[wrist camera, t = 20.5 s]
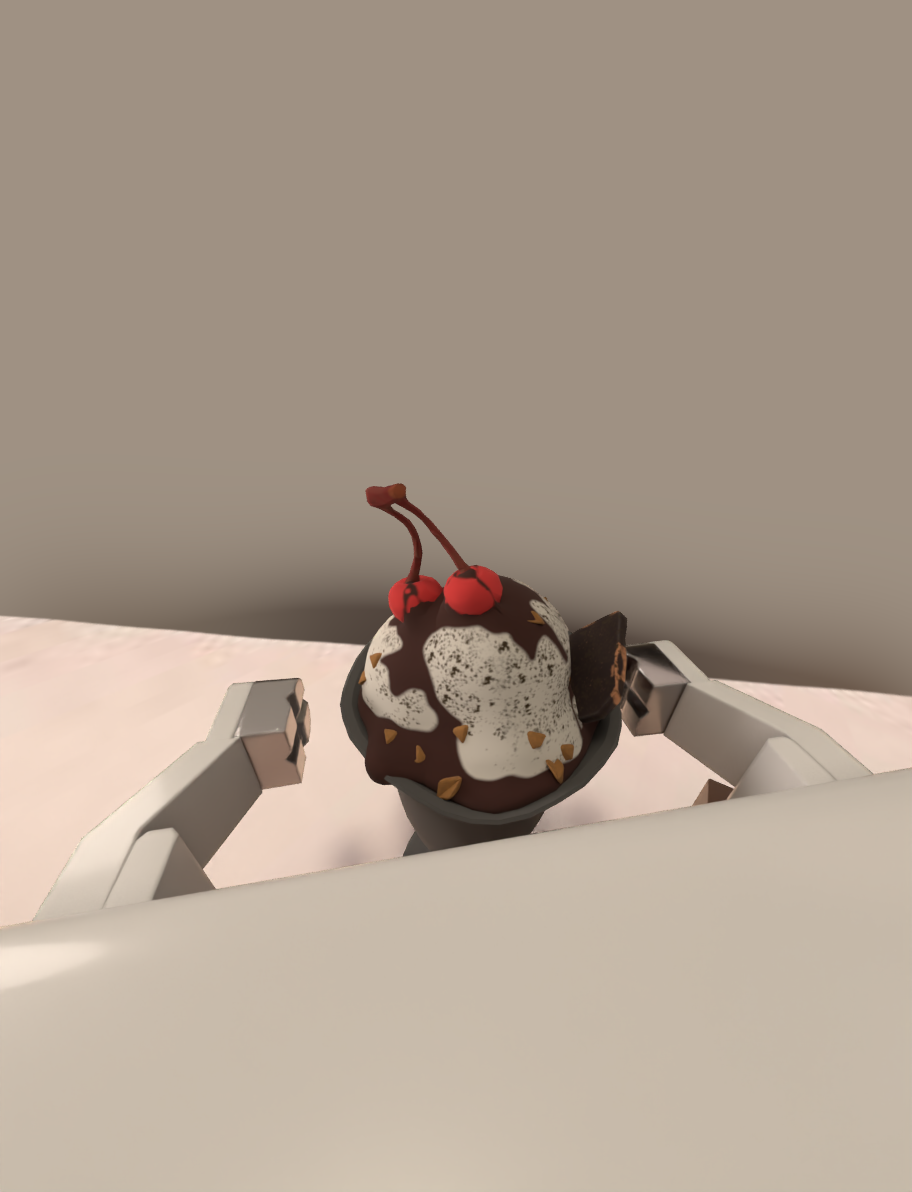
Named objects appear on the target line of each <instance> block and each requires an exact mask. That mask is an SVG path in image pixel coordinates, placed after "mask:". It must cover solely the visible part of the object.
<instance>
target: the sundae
mask: <svg viewBox="0 0 912 1192" xmlns="http://www.w3.org/2000/svg"><path fill="white" fill-rule="evenodd" d="M366 496H367V502H368V503H369V504H370V506H373V507H376V508H379V509H381V510H383V511H385V512H387V513H388V514H390V515H392V516H394V517H395V518H397V519H398V520H399V521H401V522H402V523H403V524H404V525H405V526H406V527H407V528H408V530H409V532H410V534H411V536H412V541H413V545H414V559H413V563H412V566H411V570H410V573H409V575H408V577H406V578H403V579H401V580H400V581H398V582H396V583H395V584H394V586H393V587H392V588H391V590H390V592H389V607H390V609H391V611H392V612H393V614H394V615H392V616H391V617H390V618H389V619H388V620H387V621H386V622H385V623H384V625H383V626H382V627H381V628H380V629H379V630H378V632H377V633H376V635H375V636H374V637H373V638H372V639H371V640H370V641H369V642H368V643H367V645H366V646H365V647H364V649H363V650H362V651H361V653H360V654H359V655H358V657H357V658H356V660H355V662H354V664H353V666H352V668H351V670H350V672H349V674H348V677H347V679H346V682H345V685H344V688H343V691H342V697H341V703H340V707H341V713H342V719H343V722H344V725H345V727H346V730H347V733H348V736H349V738H350V740H351V741H352V742H353V743H354V745H355V746H356V747H357V749H358V750H359V751H360V753H361V754H362V755H363V756H364V758H365V767H366V771H367V773H368V775H369V777H370V778H371V779H372V780H373V781H374V782H376V783H379V784H382V785H393V786H395V787H396V788H397V789H398V792H399V795H400V798H401V801H402V804H403V807H404V809H405V812H406V815H407V817H408V819H409V821H410V822H411V824H412V826H413V828H414V830H415V832H414V834H413V836H412V837H411V839H410V841H409V843H408V845H407V847H406V850H405V852H404V854H403V857H404V856H410V855H415V854H421V853H427V852H433V851H438V850H444V849H450V848H455V847H461V846H467V845H473V844H478V843H484V842H490V841H495V840H501V839H507V838H512V837H518V836H524V835H529V834H530V833H531V832H532V831H533V829H534V828H535V826H536V825H537V823H538V822H539V821H540V819H541V817H542V815H543V813H544V811H545V810H546V809H548V808H550V807H552V806H554V805H556V804H558V803H559V802H561V801H563V800H564V799H566V798H567V797H569V796H570V795H572V794H573V793H575V792H577V791H578V790H580V789H581V788H583V787H584V786H585V785H586V784H587V783H588V782H589V781H590V780H591V779H592V778H593V777H594V776H595V775H596V774H597V772H598V771H599V770H600V769H601V768H602V767H603V766H604V765H605V763H606V762H607V760H608V759H609V757H610V756H611V754H612V753H613V751H614V750H615V749H616V747H617V745H618V741H619V736H620V732H621V727H622V712H621V709H620V706H619V703H620V700H621V697H622V694H623V688H624V683H625V674H626V644H625V636H626V628H627V618H626V617H625V616H624V615H623V614H622V613H621V612H619V611H616V612H614V613H612V614H609V615H607V616H605V617H603V618H601V619H599V620H597V621H595V622H593V623H591V624H589V625H587V626H585V627H583V628H581V629H579V630H577V631H576V632H574V633H571V632H569V631H568V628H567V627H566V625H565V623H564V621H563V619H562V618H561V616H560V614H559V613H558V611H557V609H556V608H554V606H552V605H551V604H550V603H549V602H548V600H547V598H546V597H544V598H543V597H542V596H541V595H539V594H538V593H537V592H536V591H535V590H534V589H532V588H531V587H530V586H528V585H526V584H525V583H523V582H520V581H517V580H515V579H511V578H508V577H503V576H499V575H497V574H496V573H495V572H493V571H492V570H490V569H488V568H486V567H482V566H478V565H474V566H468V565H467V564H466V563H465V562H464V561H463V560H462V558H461V557H460V556H459V554H458V553H457V552H456V550H455V549H454V548H453V546H452V545H451V544H450V543H449V541H448V540H447V539H446V538H445V537H444V535H443V534H442V533H441V532H440V531H439V530H438V529H437V527H436V526H435V525H434V524H433V523H432V521H431V520H429V518H427V517H426V516H425V515H424V514H423V513H422V512H421V510H419V509H418V508H417V507H415V506H414V505H412V504H411V503H410V502H408V500H407V498H406V487H405V486H404V485H403V484H394V485H391V486H387V487H377V486H373V487H369V488H367V489H366ZM394 503H396V504H398V505H400V506H401V507H403V508H405V509H407V510H409V511H411V512H412V513H413V514H415V515H416V516H417V517H418V518H420V519H421V520H422V521H423V522H424V524H425V525H426V526H427V527H428V528H429V530H430V531H431V533H432V534H433V535H434V536H435V537H436V538H437V539H438V540H439V541H440V542H441V544H442V546H443V547H444V549H445V550H446V551H447V553H448V554H449V555H450V557H451V558H452V560H453V561H454V563H455V565H456V566H457V568H458V570H457V571H456V572H455V573H453V574H452V575H451V576H450V577H449V578H448V580H447V583H446V585H445V587H443V588H442V587H441V586H440V584H439V583H438V582H437V581H436V580H435V579H433V578H432V577H427V576H423V575H419V571H420V566H421V559H422V547H421V543H420V539H419V536H418V533H417V531H416V529H415V527H414V526H413V524H412V523H411V521H410V520H409V519H407V518H406V517H405V516H403V515H402V514H400V513H399V512H397V511H395V510H394V509H393V508H392V507H391V504H394Z"/></svg>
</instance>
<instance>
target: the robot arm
mask: <svg viewBox="0 0 912 1192" xmlns="http://www.w3.org/2000/svg"><path fill="white" fill-rule="evenodd" d="M303 694H304V686H303V683H302V679H300V678H292V679H279V680H266V681H256V682H246V683H233V684H232V685H231V686H230V687H229V688H228V689H227V691H226V694H225V696H224V698H223V701H222V703H221V705H220V708H219V710H218V712H217V714H216V717H215V719H214V721H213V724H212V726H211V728H210V731H209V733H208V735H207V738H206V740H205V741H203V742H197V743H196V744H195V745H194V746H192V747H191V748H190V749H189V750H188V751H186V752H185V753H184V754H183V755H182V756H180V757H179V758H178V759H177V760H176V761H174V762H173V763H172V764H171V765H170V766H168V767H167V768H166V769H165V770H164V771H162V772H161V773H160V774H159V775H158V776H156V777H155V778H154V779H153V780H152V781H150V782H149V783H148V784H147V785H145V786H144V787H143V788H142V789H141V790H139V791H138V792H137V793H136V794H135V795H133V796H132V797H131V798H130V799H129V800H127V801H126V802H125V803H124V804H123V805H121V806H120V807H119V808H118V809H117V810H115V811H114V812H113V813H112V814H111V815H109V816H108V817H107V818H106V819H105V820H103V821H102V822H101V823H100V824H99V825H97V826H96V827H95V828H94V829H92V830H91V831H90V832H89V833H88V834H86V835H85V836H84V837H83V838H82V839H81V840H80V842H79V843H78V845H77V847H76V848H75V850H74V852H73V853H72V855H71V857H70V858H69V860H68V862H67V863H66V865H65V867H64V868H63V870H62V872H61V873H60V875H59V877H58V878H57V880H56V882H55V883H54V885H53V887H52V888H51V890H50V892H49V893H48V895H47V897H46V898H45V900H44V902H43V903H42V905H41V907H40V908H39V910H38V912H37V913H36V915H35V917H34V918H33V920H32V921H31V922H25V923H20V924H14V925H8V926H2V927H0V1192H912V768H907V769H901V770H895V771H890V772H884V773H878V774H873V773H872V772H871V771H870V770H868V769H867V768H866V767H865V766H864V765H863V764H861V763H860V762H859V761H858V760H857V759H856V758H854V757H853V756H852V755H851V754H850V753H849V752H847V751H846V750H845V749H844V748H843V747H842V746H841V745H839V744H838V743H837V742H836V741H835V740H834V739H832V738H831V737H830V736H829V735H828V734H827V733H825V732H824V731H823V730H822V729H820V728H818V727H816V726H814V725H811V724H809V723H807V722H805V721H803V720H801V719H798V718H796V717H794V716H792V715H790V714H788V713H786V712H783V711H781V710H779V709H777V708H775V707H773V706H771V705H768V704H766V703H764V702H762V701H760V700H758V699H755V698H753V697H751V696H749V695H747V694H745V693H743V692H740V691H738V690H736V689H734V688H732V687H730V686H727V685H725V684H723V683H721V682H719V681H717V680H713V681H711V680H709V679H708V678H707V677H706V676H705V675H704V674H703V673H702V672H701V671H700V670H699V669H698V668H697V667H696V666H695V665H694V664H693V663H692V662H691V661H690V660H689V659H688V658H687V657H686V656H685V655H684V654H683V653H682V652H681V651H680V650H679V649H678V648H677V647H676V646H675V645H674V644H673V643H672V642H670V641H667V640H665V641H656V642H649V643H640V644H631V645H626V674H625V683H624V688H623V694H622V697H621V700H620V703H619V706H620V709H621V712H622V720H623V721H624V723H625V724H626V726H627V727H628V729H629V730H630V732H631V733H632V735H633V736H634V737H635V736H644V735H653V734H662V733H664V734H663V735H664V736H666V737H667V738H668V739H670V740H671V741H672V742H674V743H675V744H677V745H678V746H679V747H681V748H682V749H683V750H685V751H686V752H688V753H689V754H690V755H692V756H693V757H694V758H696V759H697V760H699V761H700V762H701V763H703V764H704V765H705V766H707V767H708V768H709V769H711V770H712V771H714V772H715V773H716V774H718V775H719V776H720V777H722V778H723V779H725V780H726V781H727V782H729V783H730V784H731V785H733V786H734V787H735V788H734V789H733V791H732V792H731V793H730V795H729V796H728V798H727V800H724V801H718V802H712V803H707V804H701V805H695V806H689V807H684V808H678V809H672V810H667V811H661V812H655V813H649V814H644V815H638V816H632V817H626V818H621V819H615V820H609V821H604V822H598V823H592V824H586V825H581V826H575V827H569V828H563V829H558V830H552V831H546V832H541V833H535V834H529V835H524V836H518V837H512V838H507V839H501V840H495V841H490V842H484V843H478V844H473V845H467V846H461V847H455V848H450V849H444V850H438V851H433V852H427V853H421V854H415V855H410V856H404V857H398V858H393V859H387V860H381V861H375V862H370V863H364V864H358V865H352V866H347V867H341V868H335V869H330V870H324V871H318V872H312V873H307V874H301V875H295V876H290V877H284V878H278V879H272V880H267V881H261V882H255V883H249V884H244V885H238V886H232V887H227V888H221V889H215V887H214V886H213V884H212V883H211V881H210V880H209V878H208V877H207V875H206V874H205V872H204V871H203V868H204V867H205V866H206V865H207V863H208V862H209V861H210V859H211V858H212V857H213V855H214V854H215V853H216V852H217V850H218V849H219V848H220V846H221V845H222V844H223V842H224V841H225V840H226V839H227V837H228V836H229V835H230V833H231V832H232V831H233V830H234V828H235V827H236V826H237V824H238V823H239V822H240V820H241V819H242V818H243V817H244V815H245V814H246V813H247V811H248V810H249V809H250V808H251V806H252V805H253V804H254V802H255V801H256V800H257V798H258V797H259V796H260V795H261V793H262V790H263V789H269V788H275V787H281V786H287V785H293V784H299V783H302V778H303V772H304V766H305V761H306V755H305V752H304V748H303V747H304V746H305V745H306V744H307V743H308V742H309V737H310V725H311V718H310V709H309V705H308V702H306V701H305V700H304V699H303Z"/></svg>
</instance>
